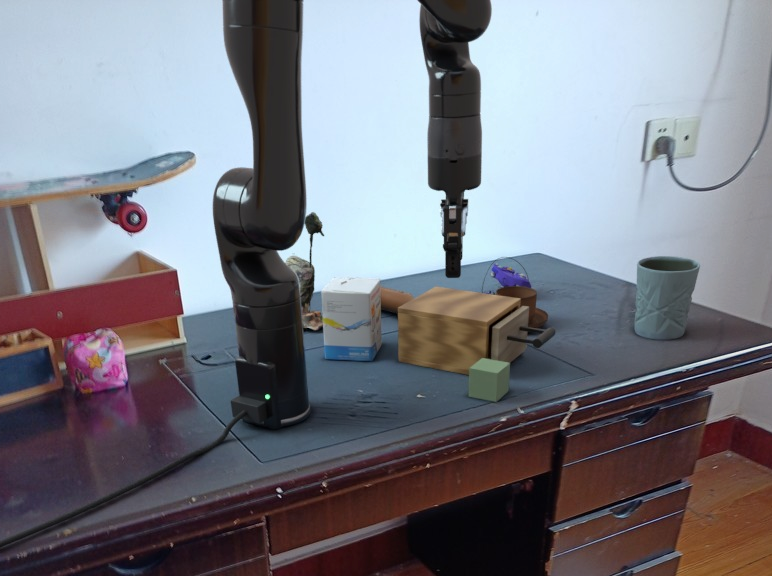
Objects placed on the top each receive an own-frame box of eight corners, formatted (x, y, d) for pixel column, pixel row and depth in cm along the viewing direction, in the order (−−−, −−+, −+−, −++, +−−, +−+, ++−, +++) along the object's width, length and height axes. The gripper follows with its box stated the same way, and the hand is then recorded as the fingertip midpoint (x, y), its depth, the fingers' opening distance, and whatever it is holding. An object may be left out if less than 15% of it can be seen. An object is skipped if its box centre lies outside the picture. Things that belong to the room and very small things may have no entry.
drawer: (559, 355, 136) (563, 311, 132) (532, 379, 127) (535, 334, 123) (448, 336, 145) (449, 294, 141) (415, 358, 136) (415, 314, 132)
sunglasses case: (445, 311, 158) (434, 285, 152) (425, 337, 156) (412, 312, 151) (378, 293, 168) (365, 269, 163) (357, 318, 167) (344, 294, 161)
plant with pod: (302, 313, 160) (294, 204, 150) (341, 326, 153) (335, 213, 143) (269, 323, 156) (258, 212, 145) (307, 337, 149) (298, 221, 138)
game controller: (547, 274, 166) (527, 275, 158) (529, 311, 170) (509, 315, 162) (506, 252, 169) (485, 253, 161) (490, 290, 173) (468, 292, 165)
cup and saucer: (517, 341, 144) (519, 306, 141) (467, 325, 152) (469, 292, 149) (561, 325, 151) (564, 291, 147) (511, 310, 159) (513, 278, 155)
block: (496, 402, 123) (497, 373, 120) (468, 396, 125) (469, 367, 122) (508, 391, 126) (510, 362, 123) (481, 386, 128) (482, 357, 125)
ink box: (372, 362, 138) (370, 292, 131) (323, 359, 139) (319, 290, 133) (383, 344, 145) (381, 277, 138) (336, 342, 146) (332, 275, 140)
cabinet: (517, 352, 140) (520, 298, 135) (484, 378, 130) (487, 321, 126) (435, 337, 147) (435, 286, 142) (398, 361, 137) (397, 307, 132)
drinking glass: (699, 336, 144) (712, 266, 137) (650, 344, 141) (661, 274, 135) (664, 319, 152) (674, 253, 146) (617, 327, 149) (625, 259, 143)
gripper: (430, 143, 121) (431, 255, 130) (424, 160, 109) (426, 283, 118) (482, 141, 120) (479, 255, 129) (481, 159, 108) (478, 283, 117)
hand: (454, 268), depth 123 cm, fingers open, 8 cm apart
